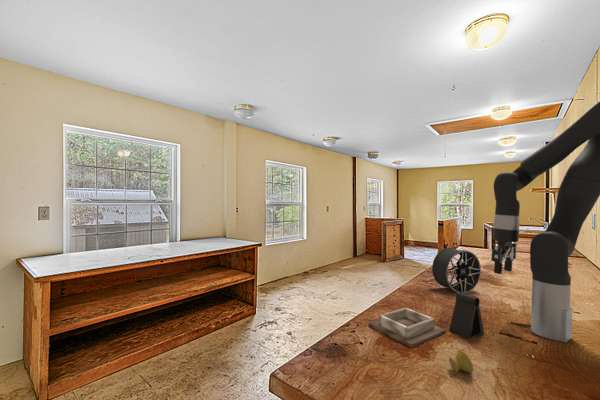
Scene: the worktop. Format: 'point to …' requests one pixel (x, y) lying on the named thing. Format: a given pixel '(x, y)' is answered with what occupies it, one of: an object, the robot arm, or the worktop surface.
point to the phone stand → (466, 316)
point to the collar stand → (407, 326)
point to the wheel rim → (457, 269)
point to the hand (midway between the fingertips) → (503, 272)
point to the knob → (461, 362)
